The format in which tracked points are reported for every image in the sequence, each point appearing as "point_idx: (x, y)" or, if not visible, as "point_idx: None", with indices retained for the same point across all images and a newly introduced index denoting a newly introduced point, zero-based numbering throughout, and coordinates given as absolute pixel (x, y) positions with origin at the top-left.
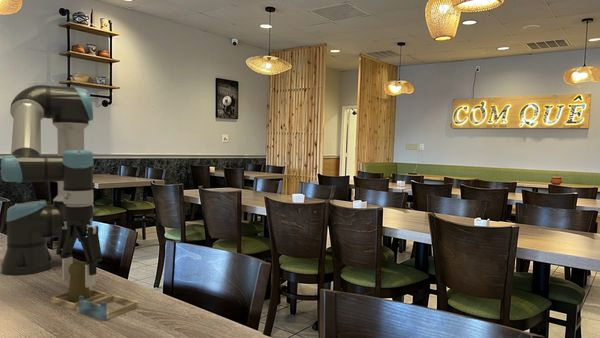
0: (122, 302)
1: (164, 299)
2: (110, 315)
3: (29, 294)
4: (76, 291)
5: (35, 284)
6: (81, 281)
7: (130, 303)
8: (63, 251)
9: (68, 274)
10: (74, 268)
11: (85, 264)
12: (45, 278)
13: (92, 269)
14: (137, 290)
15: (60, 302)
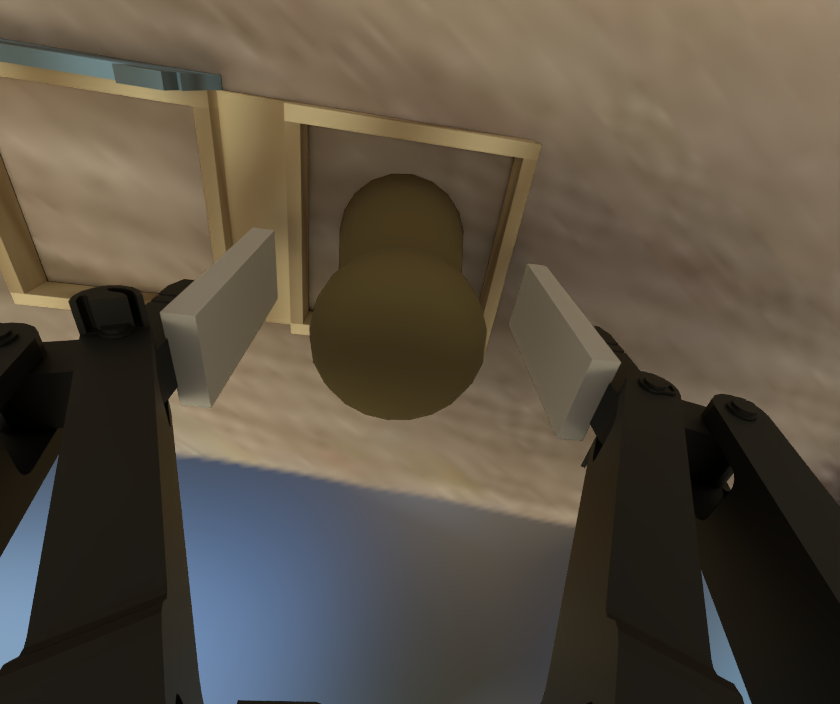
0: (147, 295)
1: None
2: None
3: (755, 197)
4: (364, 214)
5: (808, 324)
6: (342, 266)
7: (75, 290)
8: (646, 426)
9: (527, 316)
10: (360, 274)
11: (192, 313)
12: (800, 398)
13: (148, 309)
14: (263, 436)
15: (431, 125)
